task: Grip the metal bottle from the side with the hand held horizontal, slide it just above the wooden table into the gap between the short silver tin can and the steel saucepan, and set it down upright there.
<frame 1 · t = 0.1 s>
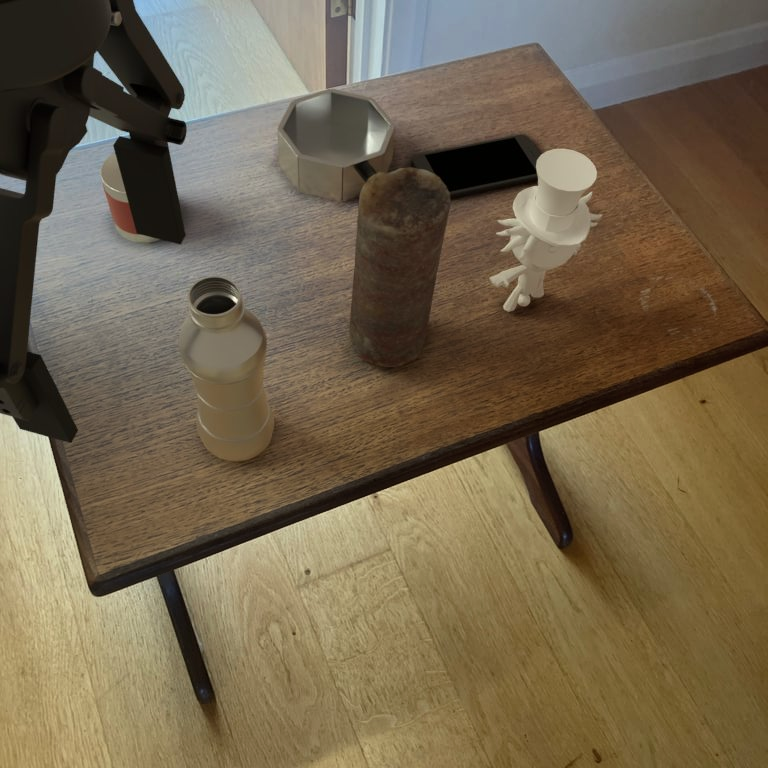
hand: (110, 324, 44), 29 cm above the table, tool pointing down, fingers open, 13 cm apart
smartphone: (479, 170, 94), on the table
figurine: (522, 305, 84), on the table
candle: (386, 345, 80), on the table
saucepan: (336, 161, 93), on the table
metal bottle: (238, 439, 73), on the table
tin can: (147, 220, 87), on the table
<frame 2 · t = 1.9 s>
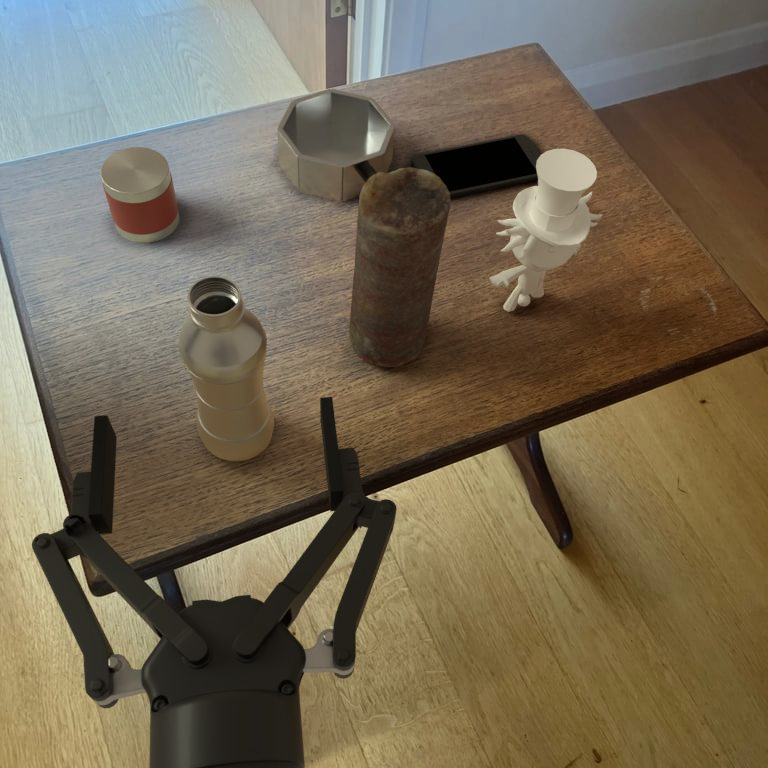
hand: (217, 416, 51), 20 cm above the table, tool horizontal, fingers open, 13 cm apart
nothing on the table moved.
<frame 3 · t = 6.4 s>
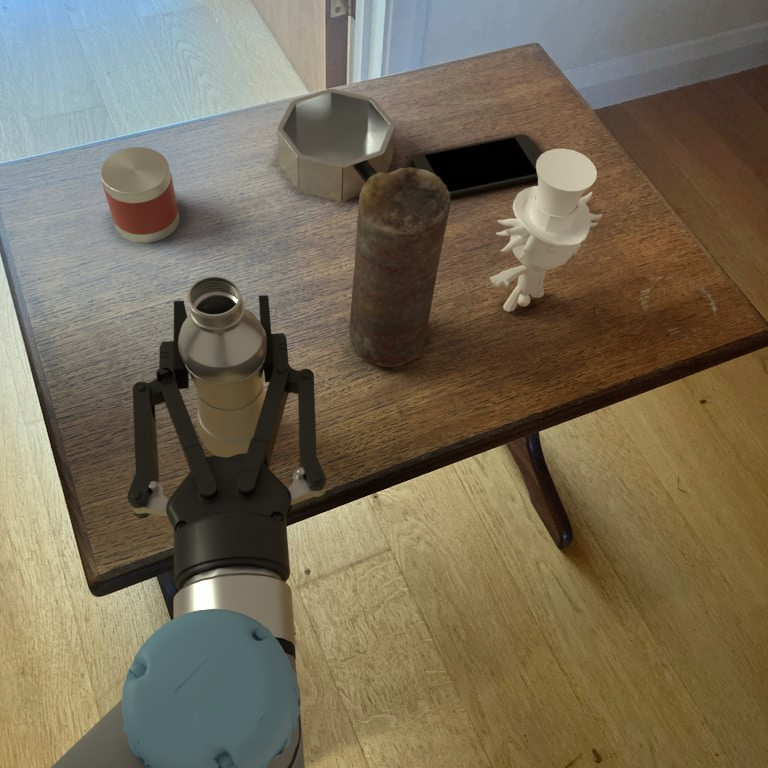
hand: (223, 309, 66), 12 cm above the table, tool horizontal, fingers closed on metal bottle, 6 cm apart
metal bottle: (238, 439, 73), on the table, touching gripper
everything else where it was.
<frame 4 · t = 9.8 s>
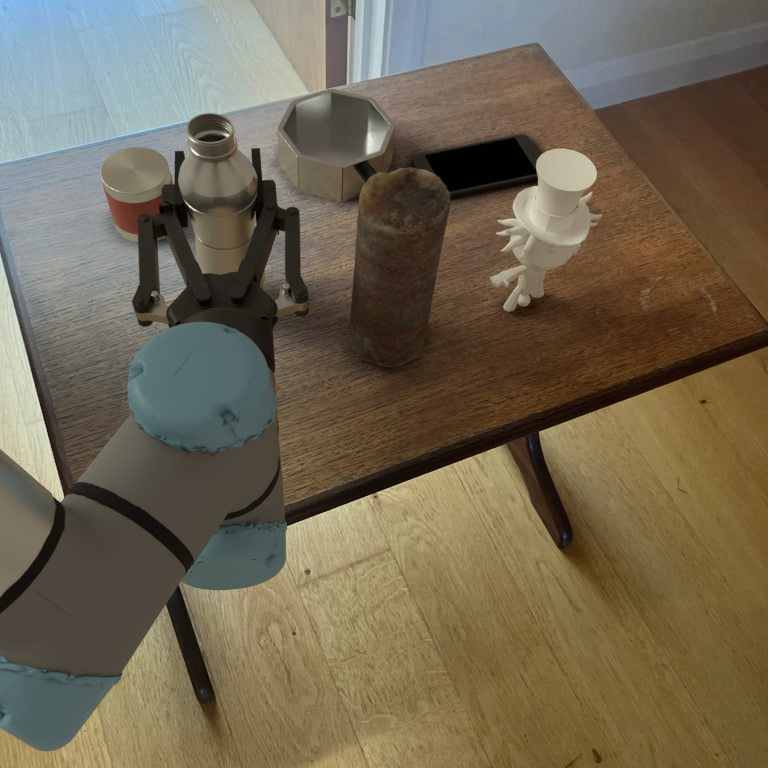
hand: (219, 161, 73), 13 cm above the table, tool horizontal, fingers closed on metal bottle, 6 cm apart
metal bottle: (233, 293, 80), point 1 cm above the table, touching gripper
everything else where it was.
when the fingers open (12 cm above the table, at t = 13.3 s): metal bottle stays where it is, on the table.
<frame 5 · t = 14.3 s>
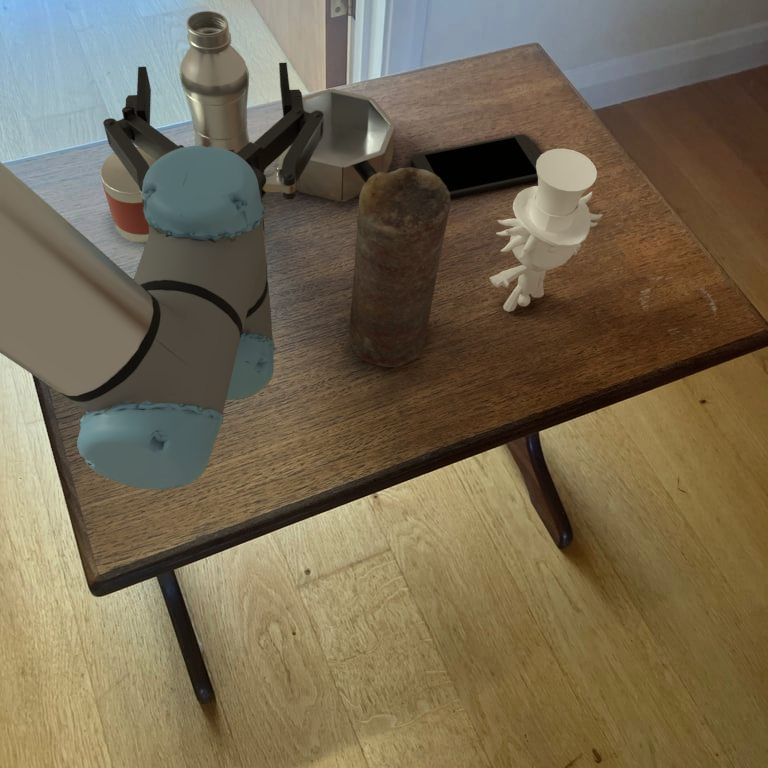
hand: (214, 76, 82), 12 cm above the table, tool horizontal, fingers open, 13 cm apart
metal bottle: (228, 190, 90), on the table
everything else where it was.
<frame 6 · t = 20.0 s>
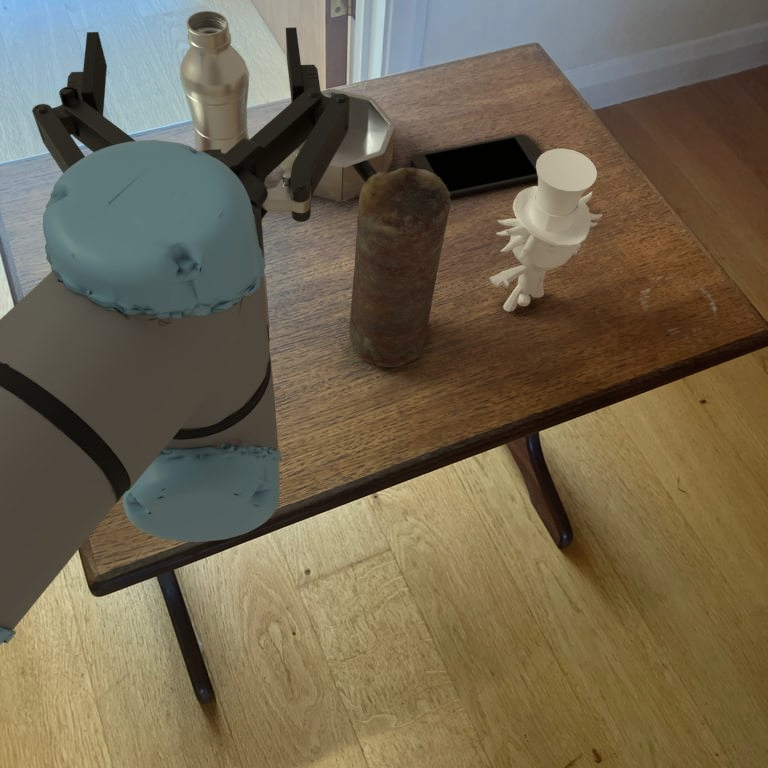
hand: (195, 46, 58), 28 cm above the table, tool horizontal, fingers open, 13 cm apart
nothing on the table moved.
at the end: metal bottle 0.1 cm from the target spot on the table beside the saucepan, on the table; metal bottle tilted 0°; the gripper is holding nothing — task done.
